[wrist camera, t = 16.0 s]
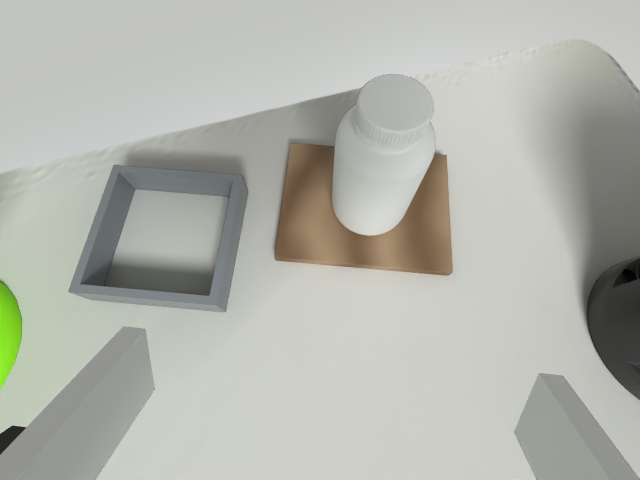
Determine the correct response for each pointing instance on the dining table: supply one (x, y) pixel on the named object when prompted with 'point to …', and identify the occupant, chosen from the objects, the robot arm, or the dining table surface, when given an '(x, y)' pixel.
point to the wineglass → (8, 331)
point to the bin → (112, 220)
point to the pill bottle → (382, 153)
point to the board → (349, 247)
